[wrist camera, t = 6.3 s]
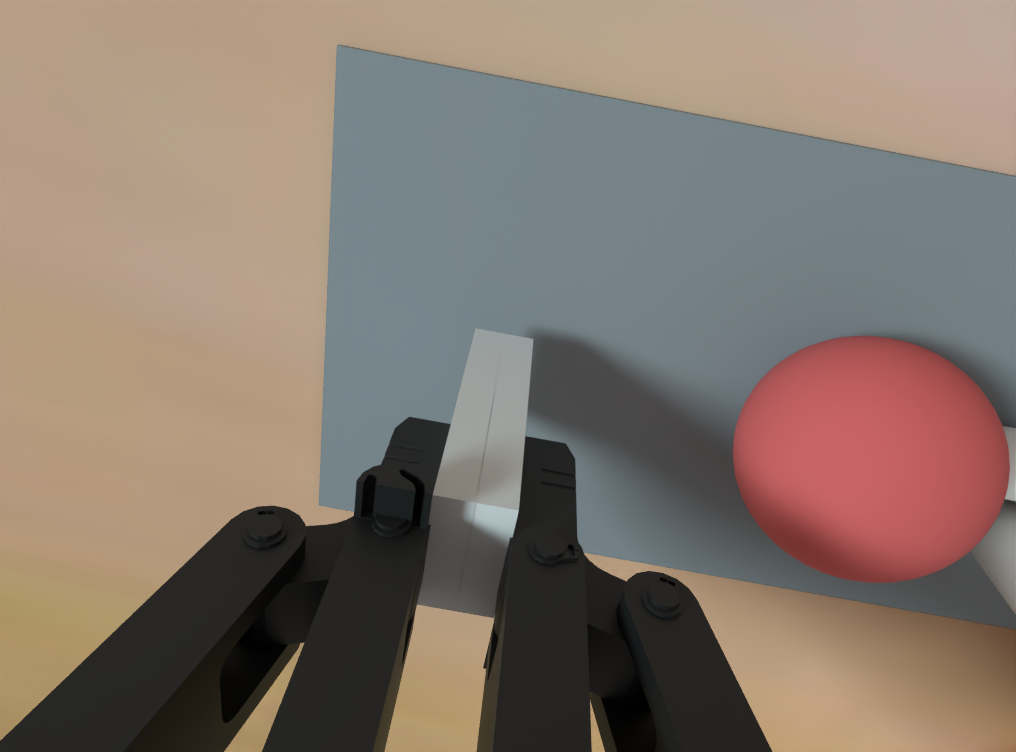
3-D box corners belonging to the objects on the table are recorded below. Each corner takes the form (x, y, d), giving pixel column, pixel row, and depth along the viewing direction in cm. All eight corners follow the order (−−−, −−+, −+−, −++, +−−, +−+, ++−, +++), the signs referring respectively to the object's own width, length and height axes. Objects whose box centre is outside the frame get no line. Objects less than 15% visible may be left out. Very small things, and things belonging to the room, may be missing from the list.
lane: (1069, 634, 23) (1072, 639, 23) (320, 501, 23) (318, 505, 23) (1404, 251, 16) (1413, 254, 16) (339, 45, 16) (336, 45, 16)
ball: (790, 656, 15) (664, 476, 20) (983, 617, 17) (827, 462, 22) (918, 445, 12) (732, 291, 17) (1137, 427, 14) (915, 294, 19)
